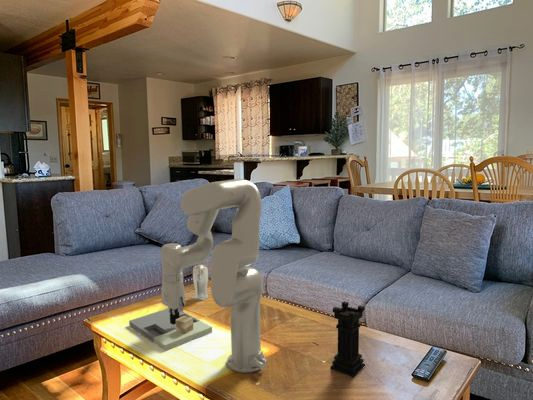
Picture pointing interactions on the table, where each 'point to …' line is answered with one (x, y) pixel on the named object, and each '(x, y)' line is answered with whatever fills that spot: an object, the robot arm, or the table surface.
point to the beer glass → (200, 281)
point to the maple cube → (184, 324)
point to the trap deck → (167, 329)
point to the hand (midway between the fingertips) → (174, 322)
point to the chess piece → (348, 340)
